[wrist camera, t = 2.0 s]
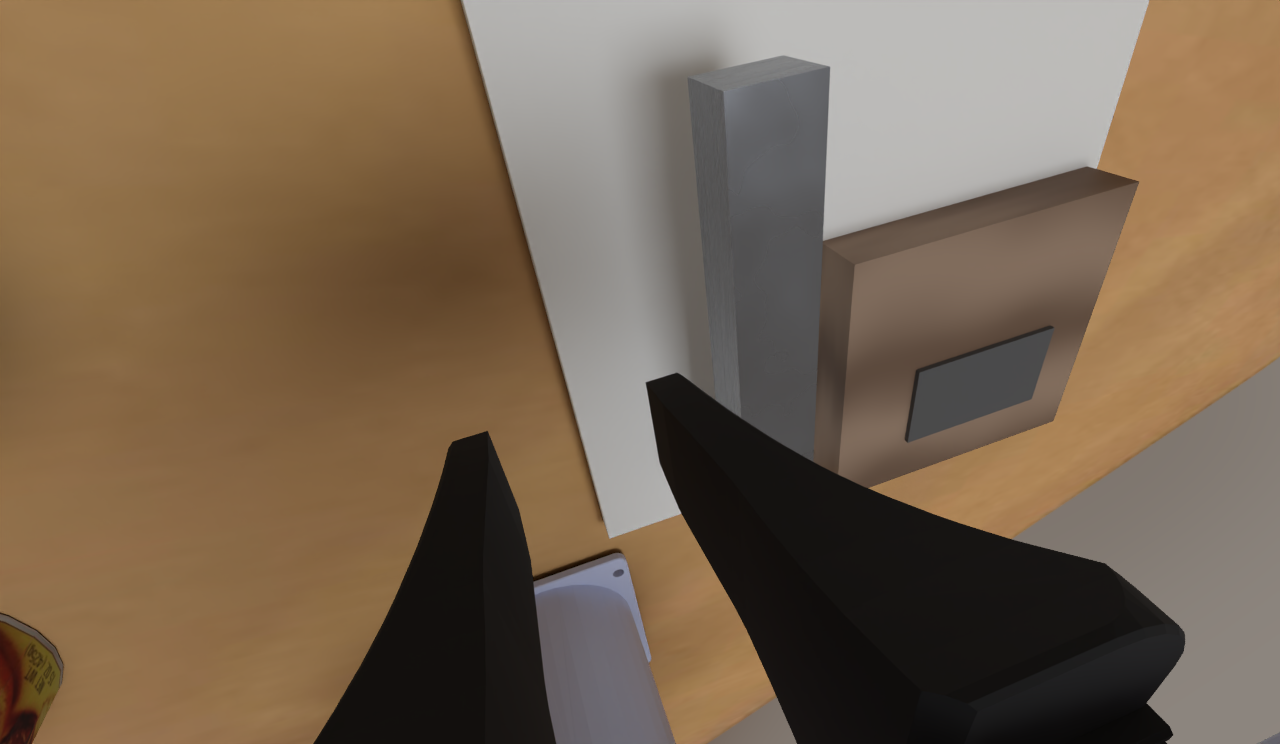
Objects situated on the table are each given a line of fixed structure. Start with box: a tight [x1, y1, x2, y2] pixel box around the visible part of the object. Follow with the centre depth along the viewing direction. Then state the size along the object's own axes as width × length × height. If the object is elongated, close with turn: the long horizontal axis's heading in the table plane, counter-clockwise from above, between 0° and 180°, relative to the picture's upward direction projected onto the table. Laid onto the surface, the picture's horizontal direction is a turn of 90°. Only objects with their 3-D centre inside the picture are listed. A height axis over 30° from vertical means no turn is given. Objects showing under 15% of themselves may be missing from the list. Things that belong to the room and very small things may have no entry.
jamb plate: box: [461, 0, 1149, 538], centre depth 21 cm, size 20×21×1 cm
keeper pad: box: [905, 325, 1054, 443], centre depth 24 cm, size 4×6×1 cm, turn 99°
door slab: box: [813, 166, 1139, 488], centre depth 24 cm, size 11×11×2 cm
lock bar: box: [687, 55, 830, 461], centre depth 17 cm, size 15×3×2 cm, turn 9°
